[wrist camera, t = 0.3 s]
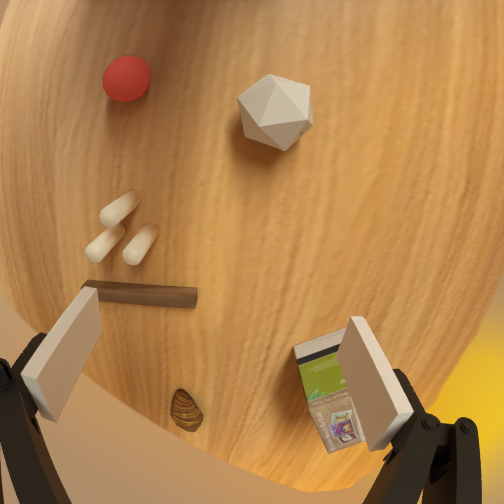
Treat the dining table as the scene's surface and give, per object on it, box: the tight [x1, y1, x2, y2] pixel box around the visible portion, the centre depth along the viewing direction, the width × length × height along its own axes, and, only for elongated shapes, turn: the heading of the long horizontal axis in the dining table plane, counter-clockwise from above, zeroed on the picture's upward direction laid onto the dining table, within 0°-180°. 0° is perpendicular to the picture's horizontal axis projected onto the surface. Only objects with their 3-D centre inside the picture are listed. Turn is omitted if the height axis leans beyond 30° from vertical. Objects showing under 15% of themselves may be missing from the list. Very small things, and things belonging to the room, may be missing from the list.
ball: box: [103, 56, 151, 102], centre depth 30 cm, size 6×6×6 cm
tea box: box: [294, 327, 366, 453], centre depth 45 cm, size 15×10×15 cm, turn 21°
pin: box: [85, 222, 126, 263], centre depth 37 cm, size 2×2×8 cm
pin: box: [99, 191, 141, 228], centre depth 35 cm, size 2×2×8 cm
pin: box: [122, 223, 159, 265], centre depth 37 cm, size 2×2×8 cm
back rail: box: [81, 280, 197, 309], centre depth 43 cm, size 2×18×2 cm, turn 86°
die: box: [237, 74, 313, 151], centre depth 32 cm, size 8×9×10 cm
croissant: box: [171, 389, 203, 432], centre depth 54 cm, size 14×7×5 cm, turn 3°
